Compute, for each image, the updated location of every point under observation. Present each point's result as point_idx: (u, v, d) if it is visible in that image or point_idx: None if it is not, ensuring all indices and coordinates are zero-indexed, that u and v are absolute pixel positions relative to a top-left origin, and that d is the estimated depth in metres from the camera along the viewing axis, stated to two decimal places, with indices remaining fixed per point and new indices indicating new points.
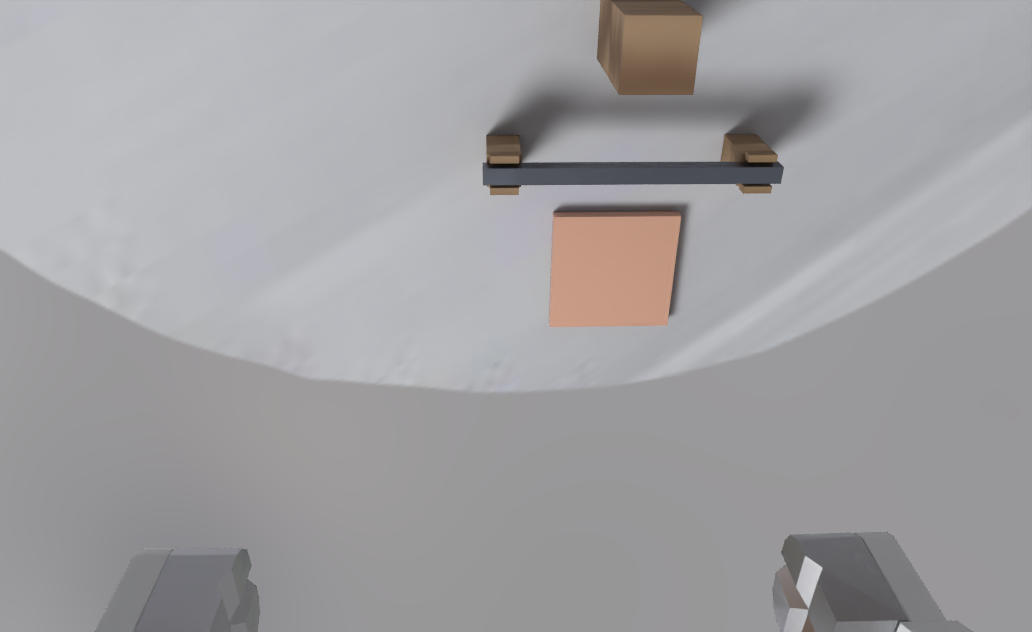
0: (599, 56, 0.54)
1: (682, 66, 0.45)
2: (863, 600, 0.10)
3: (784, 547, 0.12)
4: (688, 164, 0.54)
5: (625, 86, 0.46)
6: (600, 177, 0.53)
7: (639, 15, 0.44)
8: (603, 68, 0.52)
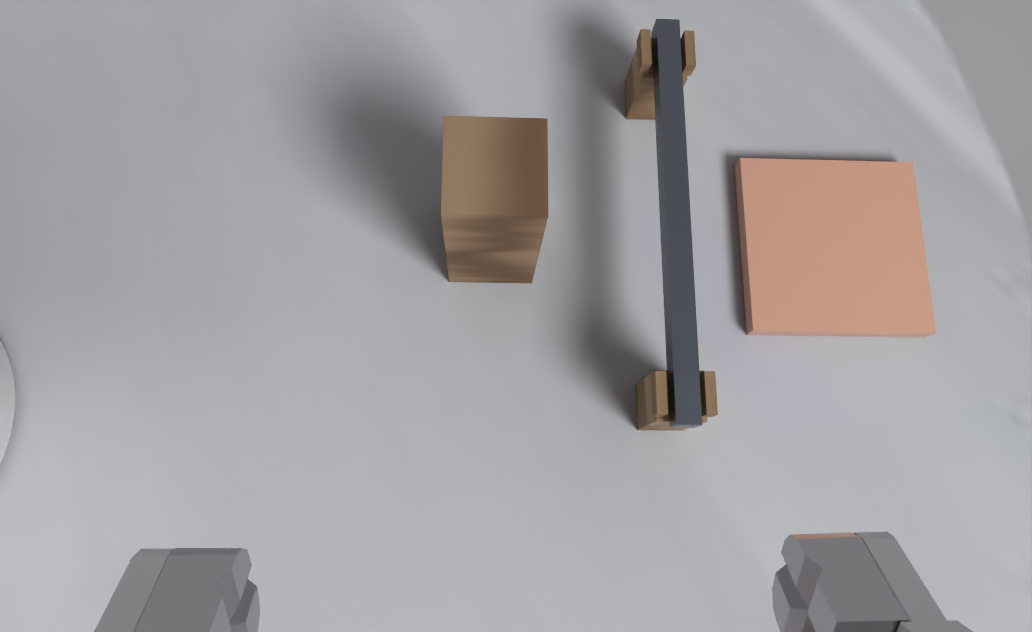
0: (526, 277, 0.41)
1: (509, 135, 0.33)
2: (863, 600, 0.10)
3: (784, 547, 0.12)
4: (658, 140, 0.39)
5: (536, 207, 0.32)
6: (681, 253, 0.37)
7: None
8: (535, 264, 0.39)
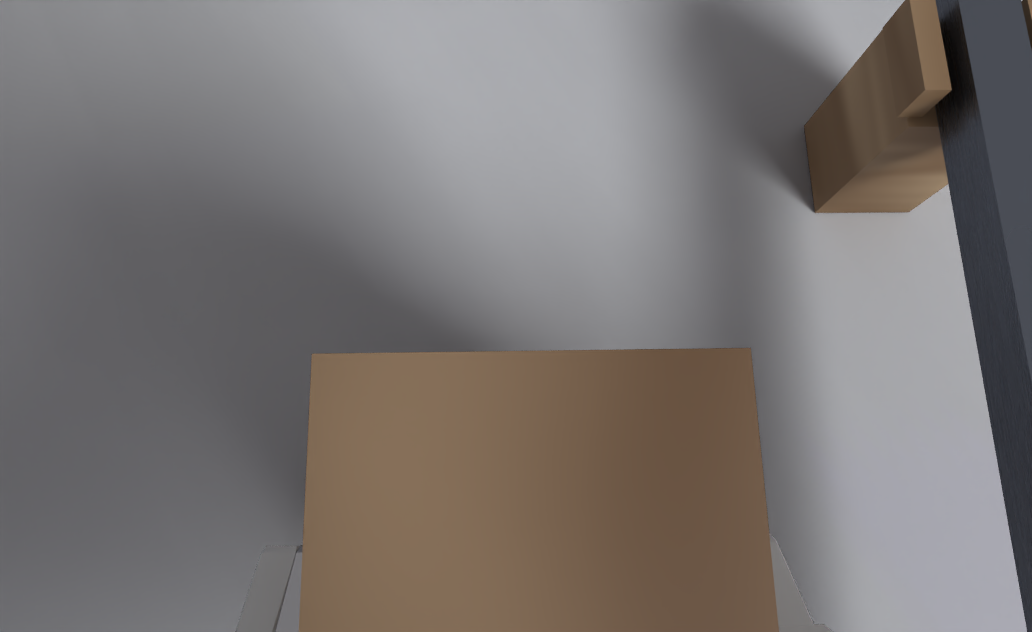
0: None
1: (595, 434, 0.08)
2: None
3: None
4: (990, 310, 0.13)
5: None
6: None
7: None
8: None
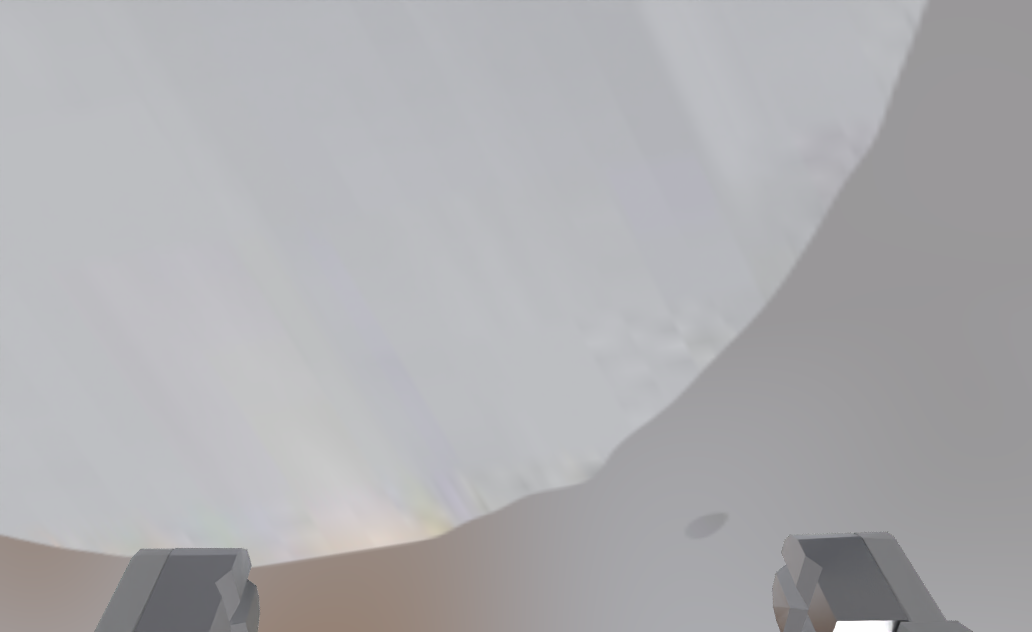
0: None
1: None
2: (863, 600, 0.10)
3: (784, 547, 0.12)
4: None
5: None
6: None
7: None
8: None
